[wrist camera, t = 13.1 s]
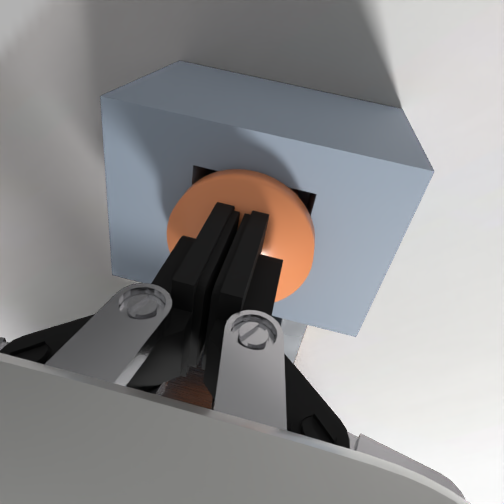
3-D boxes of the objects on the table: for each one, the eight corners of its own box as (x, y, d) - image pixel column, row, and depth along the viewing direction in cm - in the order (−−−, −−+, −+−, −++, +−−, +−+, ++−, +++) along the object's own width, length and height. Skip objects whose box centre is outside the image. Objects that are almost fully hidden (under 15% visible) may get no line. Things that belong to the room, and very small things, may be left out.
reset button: (334, 154, 14) (332, 201, 11) (302, 258, 17) (294, 320, 14) (206, 125, 14) (169, 162, 11) (196, 232, 17) (164, 287, 14)
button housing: (402, 108, 17) (434, 171, 11) (351, 241, 21) (355, 337, 15) (179, 60, 17) (100, 96, 12) (173, 198, 21) (112, 274, 16)
